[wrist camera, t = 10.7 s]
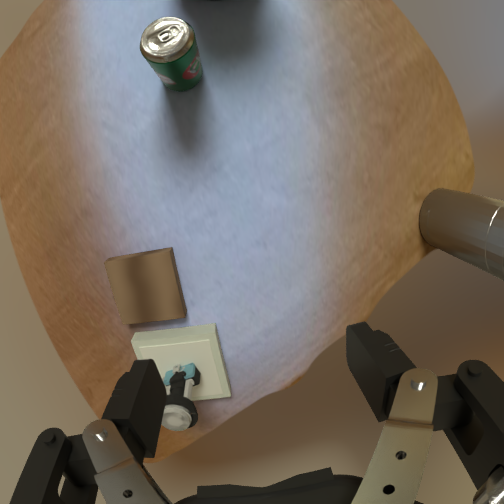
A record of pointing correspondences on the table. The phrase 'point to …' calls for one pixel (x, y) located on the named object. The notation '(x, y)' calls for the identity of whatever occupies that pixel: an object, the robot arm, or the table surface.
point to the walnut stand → (146, 286)
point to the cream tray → (187, 356)
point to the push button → (180, 397)
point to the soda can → (172, 53)
